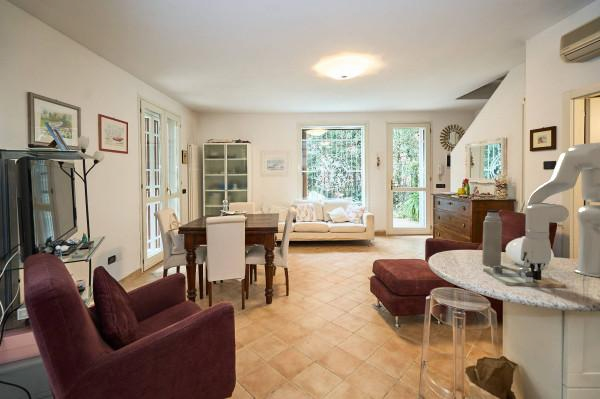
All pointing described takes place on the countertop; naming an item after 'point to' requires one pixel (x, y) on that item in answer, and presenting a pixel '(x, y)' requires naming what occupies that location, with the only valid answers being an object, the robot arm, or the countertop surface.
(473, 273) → the countertop surface
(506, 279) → the lock board
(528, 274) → the arm
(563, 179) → the robot arm
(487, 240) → the thermos bottle
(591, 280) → the countertop surface
